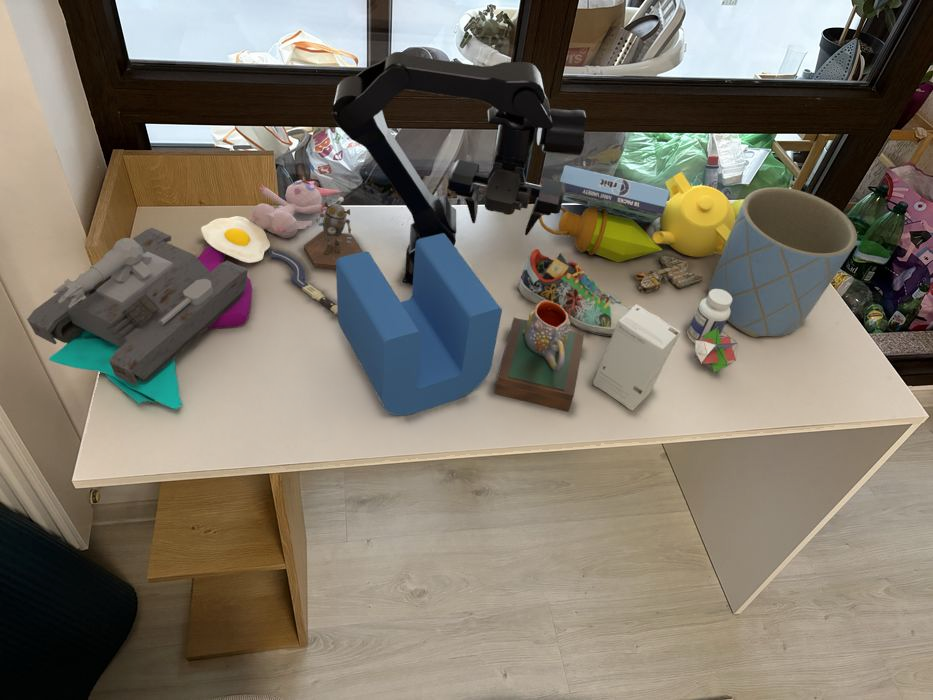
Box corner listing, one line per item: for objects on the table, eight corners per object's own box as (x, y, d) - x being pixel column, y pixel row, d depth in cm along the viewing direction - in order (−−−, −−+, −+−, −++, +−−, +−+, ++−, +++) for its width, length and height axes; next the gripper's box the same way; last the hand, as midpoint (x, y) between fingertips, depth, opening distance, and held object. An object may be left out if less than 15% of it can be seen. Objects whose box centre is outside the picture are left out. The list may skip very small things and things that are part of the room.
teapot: (619, 220, 151) (625, 194, 140) (692, 173, 152) (703, 144, 141) (680, 295, 145) (691, 274, 134) (755, 246, 146) (772, 221, 136)
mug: (519, 327, 121) (525, 297, 117) (559, 326, 122) (567, 297, 118) (532, 382, 113) (539, 353, 108) (575, 381, 114) (584, 352, 110)
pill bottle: (717, 331, 132) (738, 291, 125) (714, 351, 128) (735, 311, 121) (688, 322, 133) (706, 282, 126) (684, 341, 129) (703, 301, 122)
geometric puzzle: (756, 346, 122) (727, 374, 119) (732, 359, 128) (704, 385, 125) (727, 313, 122) (698, 340, 119) (704, 327, 129) (676, 353, 126)
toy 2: (228, 200, 133) (295, 150, 146) (234, 230, 138) (299, 179, 151) (294, 227, 129) (357, 174, 142) (297, 257, 134) (359, 202, 147)
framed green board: (494, 393, 116) (497, 376, 113) (510, 333, 126) (513, 316, 123) (568, 411, 116) (574, 394, 112) (579, 350, 125) (584, 332, 122)
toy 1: (158, 250, 127) (136, 176, 116) (252, 292, 122) (238, 218, 111) (37, 341, 111) (-2, 266, 100) (139, 394, 106) (110, 320, 95)
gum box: (562, 200, 156) (556, 191, 133) (568, 176, 155) (563, 163, 133) (652, 223, 153) (662, 218, 131) (659, 199, 152) (670, 189, 130)
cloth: (93, 300, 119) (97, 311, 121) (24, 350, 109) (28, 361, 111) (229, 357, 113) (230, 368, 115) (167, 416, 104) (170, 426, 105)
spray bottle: (181, 332, 118) (192, 238, 135) (252, 328, 120) (253, 236, 137) (178, 318, 116) (189, 225, 133) (250, 314, 118) (252, 223, 135)
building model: (673, 254, 147) (675, 247, 146) (710, 278, 142) (713, 271, 141) (621, 281, 140) (623, 273, 139) (659, 307, 135) (661, 299, 133)
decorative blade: (277, 248, 136) (255, 258, 132) (277, 243, 135) (254, 254, 132) (356, 304, 128) (335, 316, 124) (357, 300, 127) (335, 312, 124)
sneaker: (619, 349, 126) (634, 307, 119) (509, 299, 132) (517, 256, 125) (635, 324, 131) (650, 282, 124) (528, 276, 137) (536, 234, 130)
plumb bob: (654, 245, 148) (535, 212, 146) (673, 217, 141) (548, 182, 139) (651, 281, 144) (529, 248, 142) (671, 254, 136) (542, 218, 134)
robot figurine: (297, 265, 132) (293, 210, 123) (306, 233, 138) (303, 179, 130) (359, 271, 133) (359, 217, 124) (365, 239, 139) (366, 185, 131)
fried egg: (250, 269, 127) (251, 264, 127) (190, 234, 127) (191, 229, 127) (285, 241, 137) (286, 236, 136) (229, 208, 137) (230, 204, 136)
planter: (750, 355, 129) (800, 267, 114) (682, 286, 140) (719, 198, 125) (826, 326, 136) (882, 241, 121) (755, 264, 147) (799, 178, 132)
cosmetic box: (591, 385, 120) (613, 319, 109) (610, 365, 123) (634, 300, 113) (634, 413, 117) (662, 349, 106) (653, 393, 120) (682, 328, 109)
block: (381, 424, 110) (384, 340, 97) (338, 343, 120) (335, 258, 107) (486, 389, 117) (502, 307, 104) (437, 315, 127) (446, 232, 114)
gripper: (443, 161, 110) (435, 243, 122) (565, 188, 109) (546, 268, 120) (460, 125, 118) (451, 206, 129) (574, 150, 117) (555, 229, 128)
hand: (500, 227), depth 127 cm, fingers open, 9 cm apart
